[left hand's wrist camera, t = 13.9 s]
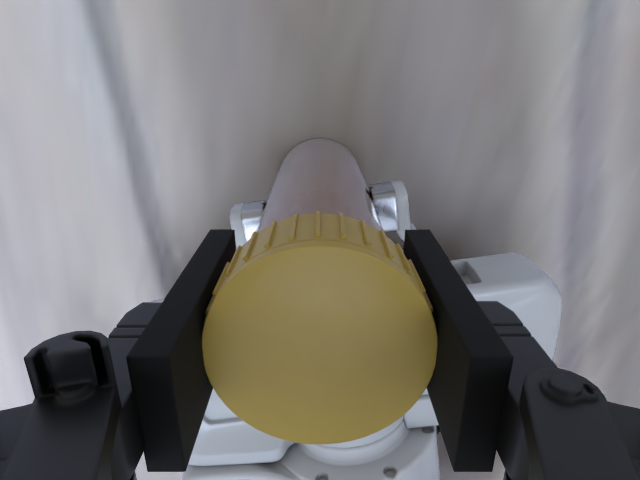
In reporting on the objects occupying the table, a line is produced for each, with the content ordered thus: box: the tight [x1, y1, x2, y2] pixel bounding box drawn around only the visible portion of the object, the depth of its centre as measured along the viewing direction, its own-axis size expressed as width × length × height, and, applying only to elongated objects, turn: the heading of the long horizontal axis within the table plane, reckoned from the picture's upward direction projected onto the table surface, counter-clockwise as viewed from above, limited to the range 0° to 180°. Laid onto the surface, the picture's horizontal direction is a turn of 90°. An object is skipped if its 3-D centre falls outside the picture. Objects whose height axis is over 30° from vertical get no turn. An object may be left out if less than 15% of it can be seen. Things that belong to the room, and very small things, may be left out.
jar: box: [256, 138, 383, 233], centre depth 18 cm, size 5×5×16 cm
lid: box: [202, 211, 438, 445], centre depth 11 cm, size 6×6×2 cm
